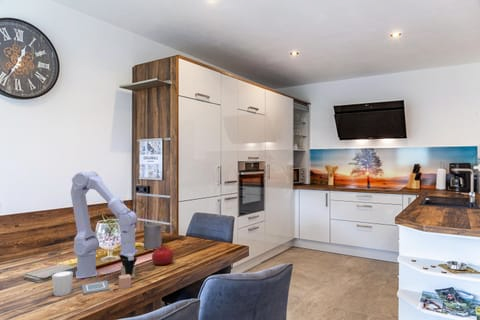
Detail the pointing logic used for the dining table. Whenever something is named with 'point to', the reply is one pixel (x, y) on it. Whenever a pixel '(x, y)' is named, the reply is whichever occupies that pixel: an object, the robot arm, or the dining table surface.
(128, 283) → the top block
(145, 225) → the pillar candle
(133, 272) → the base block
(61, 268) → the washcloth
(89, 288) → the base plate
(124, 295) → the dining table surface
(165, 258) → the pomegranate
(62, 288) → the grey cylinder
